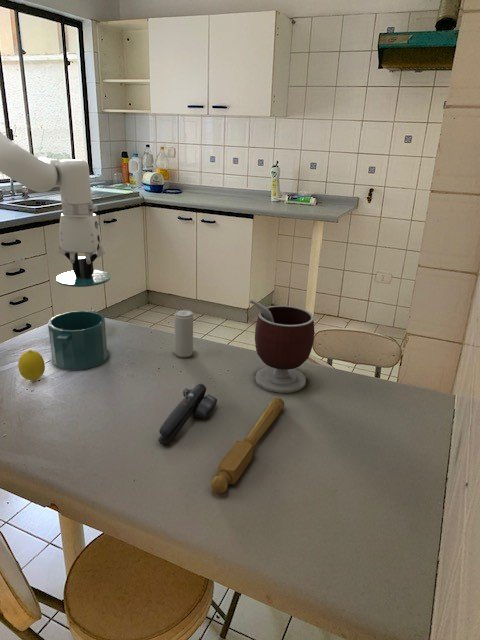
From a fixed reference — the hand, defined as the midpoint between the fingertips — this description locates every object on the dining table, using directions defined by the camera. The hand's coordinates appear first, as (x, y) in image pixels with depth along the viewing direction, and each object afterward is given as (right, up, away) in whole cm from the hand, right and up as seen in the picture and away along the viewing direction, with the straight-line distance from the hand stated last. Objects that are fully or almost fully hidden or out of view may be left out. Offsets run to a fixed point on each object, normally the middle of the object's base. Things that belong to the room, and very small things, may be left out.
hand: (83, 275), depth 129 cm
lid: (0, -1, 0) cm, 1 cm away
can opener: (+32, -34, -33) cm, 57 cm away
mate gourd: (+53, -27, -15) cm, 61 cm away
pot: (+2, -22, -9) cm, 24 cm away
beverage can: (+28, -22, -4) cm, 36 cm away
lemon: (-5, -27, -20) cm, 34 cm away
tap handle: (+46, -37, -39) cm, 71 cm away
